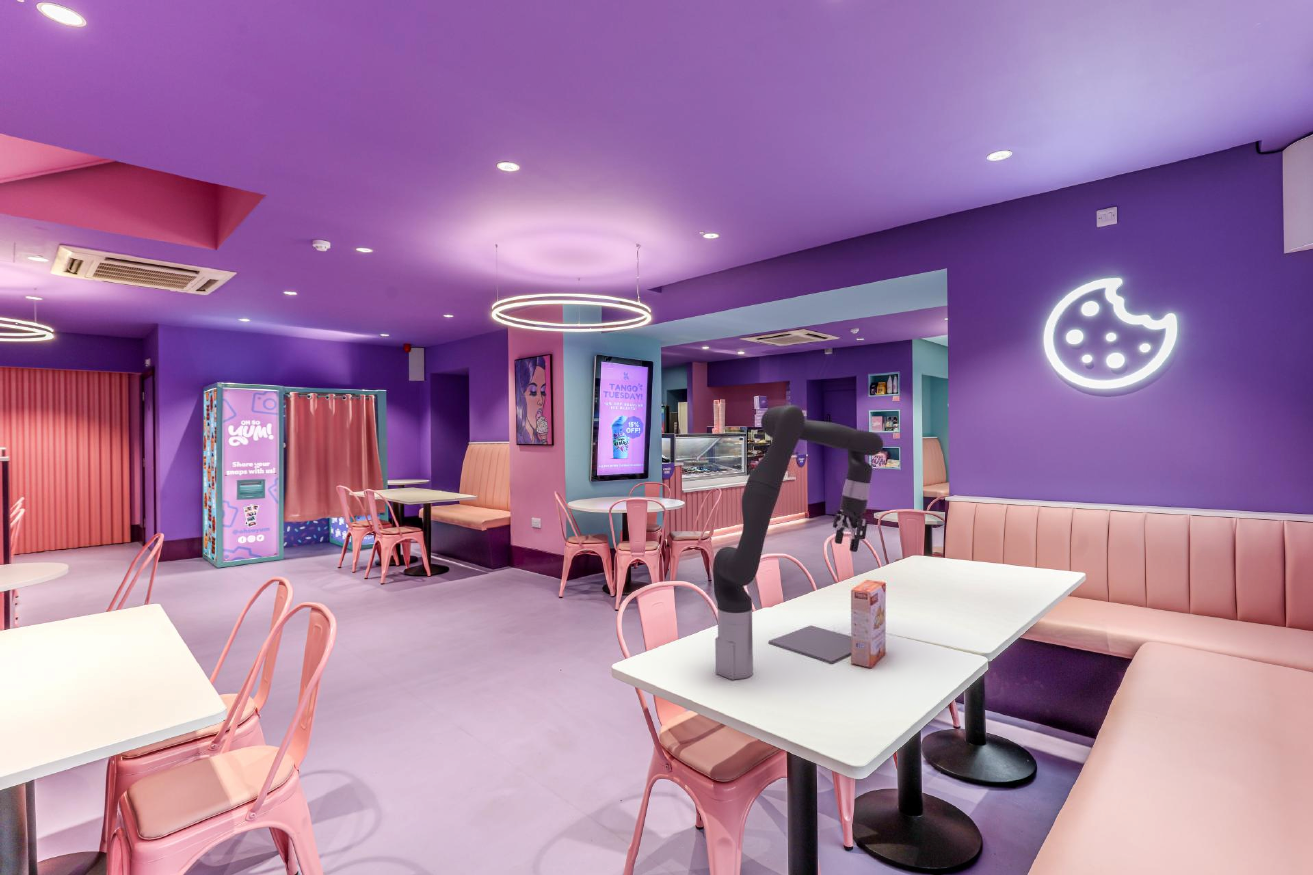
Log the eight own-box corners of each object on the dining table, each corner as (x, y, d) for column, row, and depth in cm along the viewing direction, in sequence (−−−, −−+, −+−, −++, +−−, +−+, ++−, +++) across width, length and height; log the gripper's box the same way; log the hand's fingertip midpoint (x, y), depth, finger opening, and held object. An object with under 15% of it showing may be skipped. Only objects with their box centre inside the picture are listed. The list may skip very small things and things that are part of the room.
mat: (831, 663, 162) (831, 661, 162) (768, 643, 179) (768, 640, 179) (873, 644, 176) (872, 642, 176) (810, 627, 193) (810, 625, 193)
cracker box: (872, 669, 158) (871, 591, 158) (850, 664, 162) (849, 588, 162) (887, 653, 169) (886, 581, 169) (866, 649, 173) (865, 578, 173)
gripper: (832, 489, 185) (822, 539, 186) (857, 499, 171) (847, 552, 172) (853, 492, 187) (843, 542, 188) (879, 502, 173) (869, 555, 174)
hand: (845, 547), depth 180 cm, fingers open, 8 cm apart
